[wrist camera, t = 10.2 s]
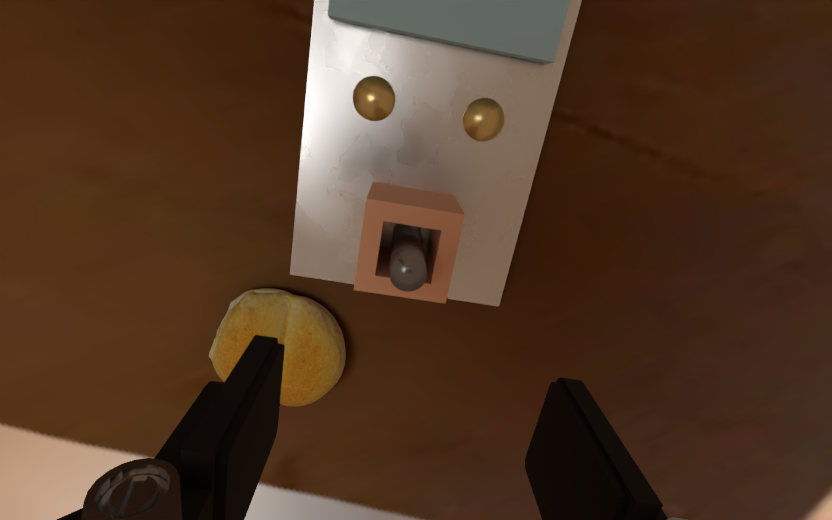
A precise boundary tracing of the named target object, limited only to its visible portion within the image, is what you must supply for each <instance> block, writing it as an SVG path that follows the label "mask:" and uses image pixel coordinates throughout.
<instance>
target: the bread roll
mask: <svg viewBox="0 0 832 520" xmlns="http://www.w3.org/2000/svg"><path fill="white" fill-rule="evenodd" d="M255 335H261V336H268V337H275V338H278V344H284V345H285V351H284V362H283V373H282V384H281V395H280V404H282V405H285V406H304V405H307V404H310V403H313V402H315V401H316V400H318V399H320V398H321V397H322V396H324V395H325V394H326V393H327V392H328V391H330V390H331V389H332V388H333V387H334V385H335V384H336V383H337V382H338V380H339V378H340V377H341V375H342V372H343V369H344V366H345V359H346V352H345V343H344V337H343V334H342V331H341V329H340V327H339V325H338V323H337V321H336V320H335V318H334V317H333V316H332V314H331V313H330V312H329V311H328V310H327V309H326V308H325V307H323V306H322V305H320V304H319V303H317V302H316V301H314V300H312V299H310V298H307V297H303V296H298V295H293V294H291V293H289V292H287V291H284V290H280V289H273V288H261V289H255V290H249V291H246V292H244V293H243V294H242V295H240V296H239V297H237V298H236V299H235V300H233V301H232V302H231V303H230V306H229V309H228V311H227V314H226V316H225V317H224V319H223V320H222V322H221V324H220V326H219V328H218V330H217V336H216V338H215V339H214V342H213V346H212V348H211V350H210V352H209V357H210V358H211V359H212V363H213V366H214V369H215V371H216V373H217V374H218V376H219V377H220V378H221V379H222V380H223V381H224V382H225V381H226V379H227V378H228V376H229V374H230V373H231V371H232V370H233V368H234V367H235V365H236V364H237V362H238V361H239V359H240V357H241V356H242V354H243V353H244V351H245V350H246V348H247V347H248V345H249V343H250V342H251V340H252V339H253V337H254V336H255Z"/></svg>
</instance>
